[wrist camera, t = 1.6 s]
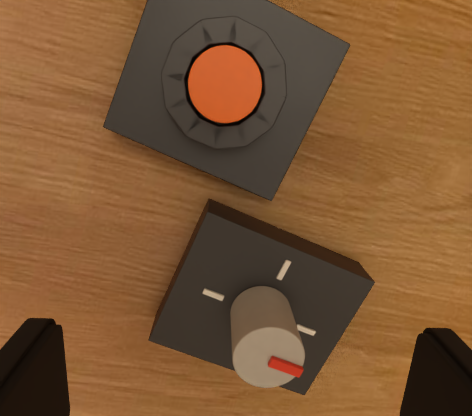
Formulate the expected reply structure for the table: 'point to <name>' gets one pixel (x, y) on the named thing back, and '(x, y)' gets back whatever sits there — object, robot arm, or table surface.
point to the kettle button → (224, 84)
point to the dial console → (252, 275)
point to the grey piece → (261, 117)
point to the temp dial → (265, 338)
